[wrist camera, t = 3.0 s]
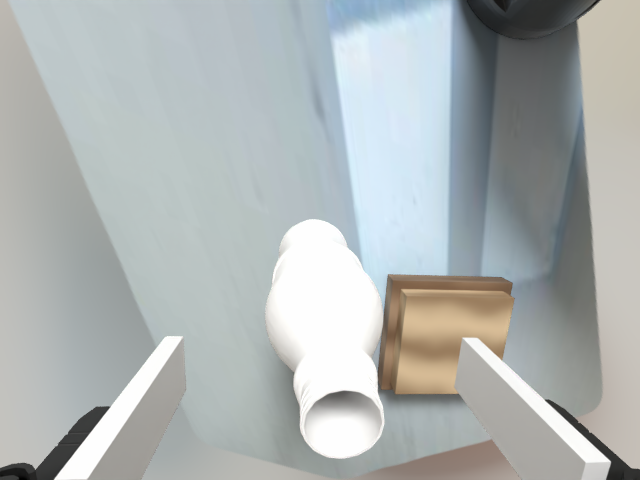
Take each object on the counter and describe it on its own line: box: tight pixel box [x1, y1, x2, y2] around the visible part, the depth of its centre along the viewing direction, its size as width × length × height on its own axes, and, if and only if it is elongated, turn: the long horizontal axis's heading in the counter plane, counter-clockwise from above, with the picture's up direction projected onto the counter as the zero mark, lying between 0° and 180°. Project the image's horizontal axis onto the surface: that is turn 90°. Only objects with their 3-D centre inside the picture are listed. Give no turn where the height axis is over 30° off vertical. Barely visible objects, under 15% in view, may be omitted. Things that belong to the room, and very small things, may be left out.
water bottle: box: [265, 220, 385, 459], centre depth 23 cm, size 7×7×25 cm
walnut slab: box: [378, 274, 513, 390], centre depth 38 cm, size 14×14×2 cm
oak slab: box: [390, 289, 515, 394], centre depth 36 cm, size 12×12×2 cm
